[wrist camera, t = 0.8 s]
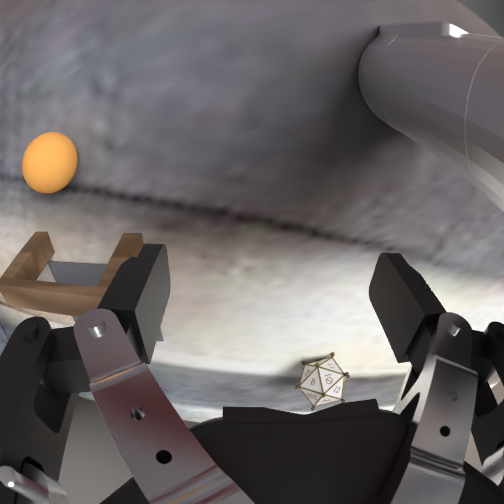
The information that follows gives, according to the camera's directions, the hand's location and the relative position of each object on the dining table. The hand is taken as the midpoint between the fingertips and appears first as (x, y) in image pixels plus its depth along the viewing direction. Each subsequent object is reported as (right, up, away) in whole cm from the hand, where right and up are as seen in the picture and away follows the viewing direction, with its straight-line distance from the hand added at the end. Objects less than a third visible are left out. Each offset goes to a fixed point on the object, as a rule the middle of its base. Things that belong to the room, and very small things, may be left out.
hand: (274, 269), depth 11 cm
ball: (-19, +9, +10) cm, 23 cm away
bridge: (-20, +2, +19) cm, 27 cm away
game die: (+10, -17, +34) cm, 40 cm away
